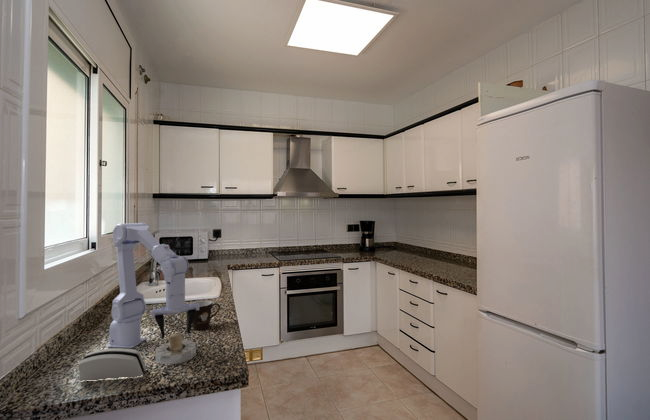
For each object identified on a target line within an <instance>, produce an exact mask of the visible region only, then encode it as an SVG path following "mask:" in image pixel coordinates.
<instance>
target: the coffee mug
mask: <svg viewBox="0 0 650 420" xmlns="http://www.w3.org/2000/svg"><path fill="white" fill-rule="evenodd" d="M196 303H198V304H199V310H197V311H196V316H195V318H194V320H193V323H192V325H191V327H192V330H193V331H197V332H198V331H200V332H202V331H205V330H208V329H209V328H210V324H211V319H212V318H213V317H215V316H216V315H217V314H218V313H219V311H220V309H221V306H220V304H219V303H216V302H215V303H213V302H212V300H197V301H193V302H191V303H190V304H196ZM214 306H217V307H218V308H217V310H216V312H215V313H213V314H212V308H213V307H214ZM211 315H212V316H211Z"/></svg>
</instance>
